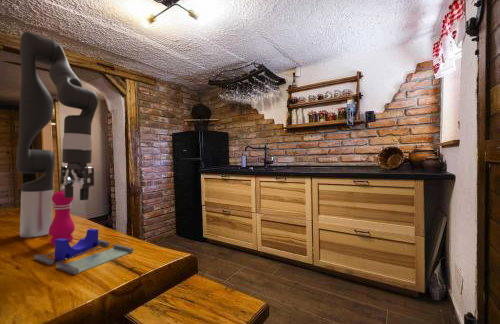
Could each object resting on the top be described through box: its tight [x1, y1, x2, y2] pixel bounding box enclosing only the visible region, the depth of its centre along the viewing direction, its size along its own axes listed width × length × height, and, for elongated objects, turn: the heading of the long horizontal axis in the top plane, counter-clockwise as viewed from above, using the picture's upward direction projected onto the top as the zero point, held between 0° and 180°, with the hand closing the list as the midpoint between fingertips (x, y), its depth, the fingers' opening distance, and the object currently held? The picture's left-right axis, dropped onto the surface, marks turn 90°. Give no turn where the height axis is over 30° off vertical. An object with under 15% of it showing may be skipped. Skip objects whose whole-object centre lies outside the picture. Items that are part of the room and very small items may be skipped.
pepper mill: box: [48, 185, 76, 246], centre depth 82 cm, size 7×7×20 cm
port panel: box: [34, 238, 134, 276], centre depth 70 cm, size 21×17×1 cm
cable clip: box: [54, 228, 99, 261], centre depth 73 cm, size 12×4×6 cm, turn 168°
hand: (76, 198), depth 73 cm, fingers open, 8 cm apart
